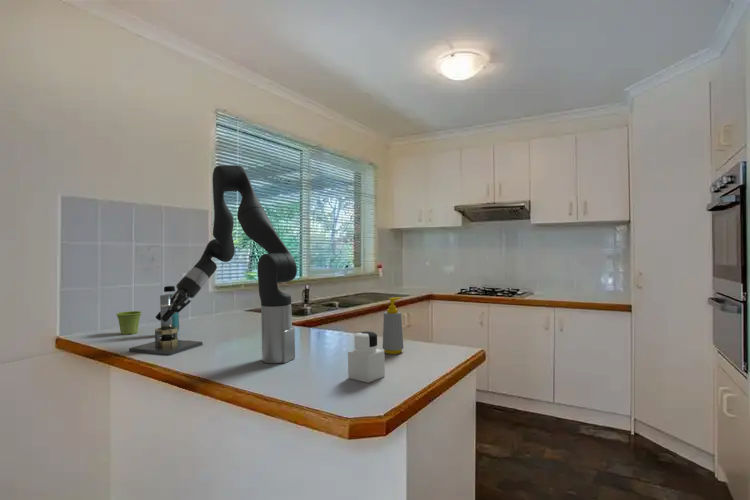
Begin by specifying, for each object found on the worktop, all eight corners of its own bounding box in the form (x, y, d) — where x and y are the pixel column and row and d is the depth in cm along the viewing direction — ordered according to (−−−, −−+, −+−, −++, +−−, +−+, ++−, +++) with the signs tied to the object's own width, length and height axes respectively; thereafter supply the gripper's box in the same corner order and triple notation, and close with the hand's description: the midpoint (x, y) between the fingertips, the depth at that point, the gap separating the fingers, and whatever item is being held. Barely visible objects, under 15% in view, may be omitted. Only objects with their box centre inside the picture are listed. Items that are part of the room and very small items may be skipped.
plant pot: (147, 331, 185) (146, 311, 184) (131, 335, 175) (131, 314, 175) (127, 331, 186) (126, 311, 186) (111, 335, 176) (110, 314, 176)
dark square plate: (202, 344, 156) (201, 325, 156) (170, 355, 142) (169, 334, 142) (163, 342, 162) (163, 323, 162) (129, 351, 148) (128, 331, 148)
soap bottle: (407, 353, 140) (406, 298, 139) (387, 355, 137) (386, 299, 137) (398, 348, 146) (397, 295, 146) (379, 350, 143) (378, 297, 143)
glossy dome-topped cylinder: (175, 339, 153) (173, 294, 153) (166, 341, 150) (165, 296, 150) (166, 338, 155) (165, 294, 154) (158, 341, 151) (157, 295, 151)
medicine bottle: (365, 371, 120) (364, 329, 120) (385, 376, 115) (384, 331, 115) (347, 378, 114) (346, 333, 114) (368, 383, 110) (367, 336, 110)
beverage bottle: (182, 333, 179) (181, 285, 179) (173, 336, 172) (172, 286, 172) (167, 333, 179) (166, 285, 179) (158, 336, 173) (157, 286, 173)
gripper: (176, 275, 162) (143, 311, 153) (195, 276, 153) (161, 315, 144) (190, 287, 166) (159, 324, 157) (209, 289, 157) (177, 328, 148)
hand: (160, 319), depth 151 cm, fingers closed on glossy dome-topped cylinder, 3 cm apart
